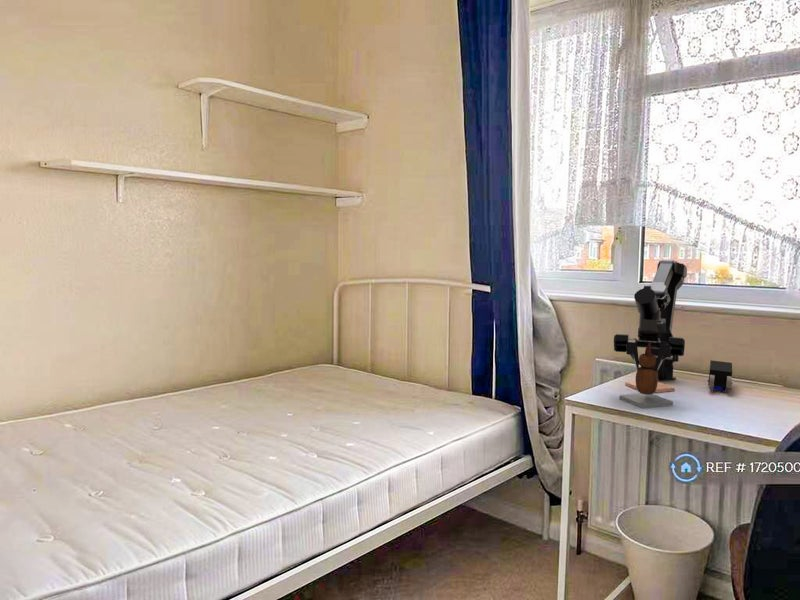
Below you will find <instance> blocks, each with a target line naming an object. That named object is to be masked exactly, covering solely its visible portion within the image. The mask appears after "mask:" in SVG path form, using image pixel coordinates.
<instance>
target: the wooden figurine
mask: <svg viewBox="0 0 800 600" xmlns="http://www.w3.org/2000/svg"><path fill="white" fill-rule="evenodd" d="M638 359H639V370H637V369H636V373H635V381H636V387H637V392H638V393H641V394H646V395H650V394H655V393H654V392H655V391H656V388H657V383H658V382H659V380H658V373H657V371H656V369H655V368H654V367H655V366H656V357H655V356H654V355H652V354H651V342H650V344H649V343H648V346H647V348H645V351H644V353H642V354H640V355H639V356H638Z"/></svg>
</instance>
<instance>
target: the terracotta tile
mask: <svg viewBox="0 0 800 600" xmlns="http://www.w3.org/2000/svg"><path fill="white" fill-rule="evenodd" d="M624 383H625V384H624V385H625V386H626V387H628V388H631V389H632V390H633V389H634V390H635V391H636V390H637V387H636V380H634V381H625V382H624ZM675 390H676V389H675V387H674V386H672V385H669V384H665V383H663V382H661V381H658V383H657V388H656V391H655V392H654V393H653V394H657V393H664V392H674V391H675ZM637 391H638V390H637Z"/></svg>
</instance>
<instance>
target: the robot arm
mask: <svg viewBox="0 0 800 600" xmlns="http://www.w3.org/2000/svg"><path fill="white" fill-rule="evenodd" d="M656 267H657V268H656V273H655V274H654V278H653V279H652V282H651V283H649V284H647V285H643V288H641V289H639V290H637V291H636V292H635V293H634V301H635V305H636V308H637V312H638V313H639V321H638V329H637V338H638V339H637V338H636V337H629V334H624V333H616V334H615V335H613V351H614V352H617V353H620V352H621V353H626V355H630V357H631V359H632V361H633V362H634V366H635V367H636V368H635V369H636V371H637V370H639V367H640V365H639V352H638V351H639V350H638V348H642V349H643V348H645V349H646V348H647V346H648V343H649V344H650V342H651V354H652V355H654V356H655V357H656V366H655V367H654V368H655V369H656V371H657V373H658V381H659V382H661V381H672V380H677V377H675V376H674V365H673V364H674V363H675V362H678V363H679V361H680V359H679V357H683V356H684V354H685V347H686V346H685V345H686V343H685V341H686V340H685V338H683V337H678V336H676V337H675V336H674V335H673V333H672V328H673V323H674V322H673V321H674V315H675V309H676V308H675V307H676V303H677V302H676V301H677V294H678V290H679V289H680V288H682V286H683V285H684V284H685V283H684V282H685V278H687V275H688V268H687V266H686V265H685V264H684V263H681V262H678V261H676V260H673V259H661V260H659V261H658V263H657V266H656Z"/></svg>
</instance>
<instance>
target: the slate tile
mask: <svg viewBox="0 0 800 600" xmlns="http://www.w3.org/2000/svg"><path fill="white" fill-rule="evenodd" d="M619 400H622V401H624V402H626V401H627V403H629V404H632V405H634V406H636V407H638V408H641V409H648V408H657V407H668V406H673V405H674V401H673V400H670V399H668V398H666V397H661V396H659V395H656V394H655V393H653V394H650V395H646V394H641V393H640V392H638V393H637V392H636V393H630V394H629V393H628V394H619Z"/></svg>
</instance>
